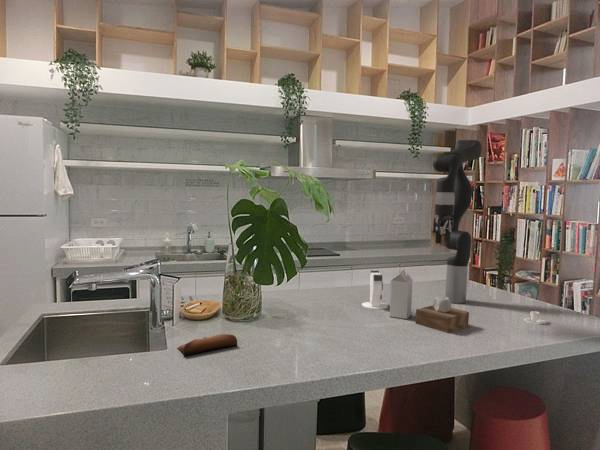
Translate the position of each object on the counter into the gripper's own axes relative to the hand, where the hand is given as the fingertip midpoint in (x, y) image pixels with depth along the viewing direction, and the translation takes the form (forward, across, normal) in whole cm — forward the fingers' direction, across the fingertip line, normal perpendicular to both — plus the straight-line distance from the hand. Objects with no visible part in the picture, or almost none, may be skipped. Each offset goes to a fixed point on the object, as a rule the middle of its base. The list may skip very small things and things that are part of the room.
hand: (442, 242), depth 186 cm
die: (+25, +14, +7) cm, 29 cm away
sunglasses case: (+31, +93, -36) cm, 104 cm away
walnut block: (+31, +14, +7) cm, 34 cm away
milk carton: (+30, +15, -10) cm, 35 cm away
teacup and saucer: (+31, -15, +32) cm, 47 cm away
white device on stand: (+30, +9, -26) cm, 41 cm away
